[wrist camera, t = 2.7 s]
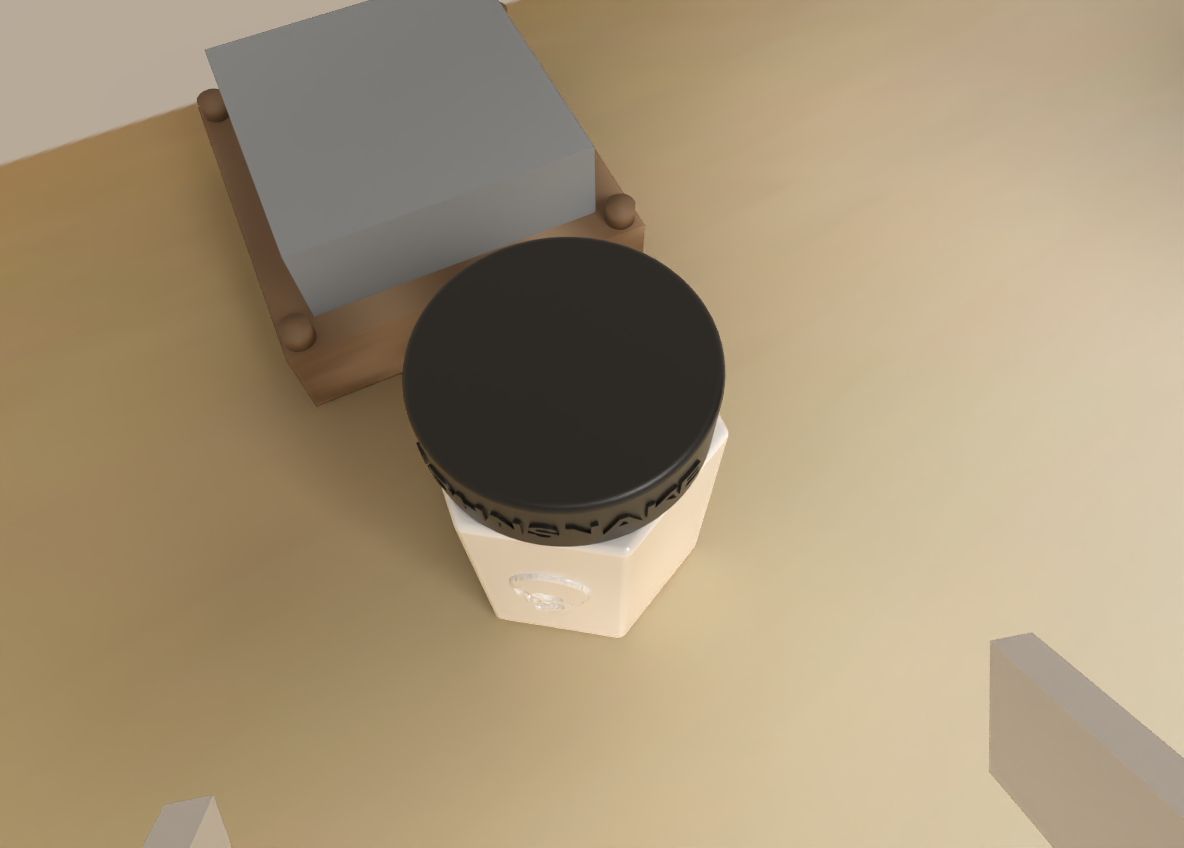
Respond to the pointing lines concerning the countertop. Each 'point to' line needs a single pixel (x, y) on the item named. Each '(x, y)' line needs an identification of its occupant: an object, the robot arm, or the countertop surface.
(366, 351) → the walnut base brick
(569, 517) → the jar
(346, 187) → the grey top brick
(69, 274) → the countertop surface
